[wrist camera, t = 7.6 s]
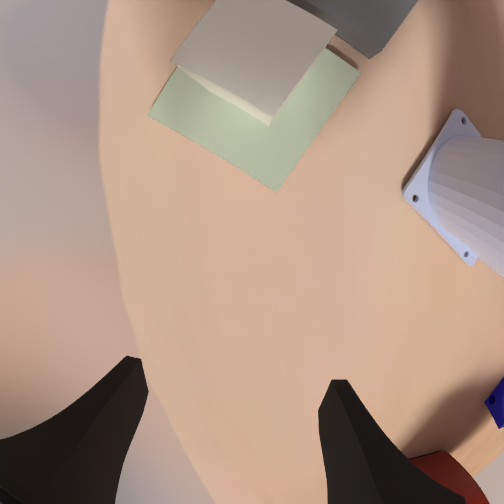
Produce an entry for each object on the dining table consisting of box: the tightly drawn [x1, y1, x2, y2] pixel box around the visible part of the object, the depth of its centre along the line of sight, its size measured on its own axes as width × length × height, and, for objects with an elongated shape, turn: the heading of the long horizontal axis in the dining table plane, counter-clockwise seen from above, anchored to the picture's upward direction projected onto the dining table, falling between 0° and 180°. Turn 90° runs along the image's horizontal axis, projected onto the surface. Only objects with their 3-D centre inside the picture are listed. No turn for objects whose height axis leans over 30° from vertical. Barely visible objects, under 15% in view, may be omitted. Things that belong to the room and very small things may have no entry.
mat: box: [148, 48, 361, 193], centre depth 14 cm, size 9×9×1 cm
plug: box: [171, 0, 338, 126], centre depth 10 cm, size 4×4×7 cm
